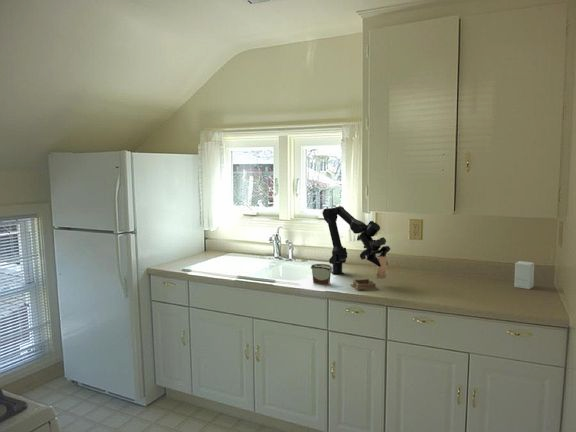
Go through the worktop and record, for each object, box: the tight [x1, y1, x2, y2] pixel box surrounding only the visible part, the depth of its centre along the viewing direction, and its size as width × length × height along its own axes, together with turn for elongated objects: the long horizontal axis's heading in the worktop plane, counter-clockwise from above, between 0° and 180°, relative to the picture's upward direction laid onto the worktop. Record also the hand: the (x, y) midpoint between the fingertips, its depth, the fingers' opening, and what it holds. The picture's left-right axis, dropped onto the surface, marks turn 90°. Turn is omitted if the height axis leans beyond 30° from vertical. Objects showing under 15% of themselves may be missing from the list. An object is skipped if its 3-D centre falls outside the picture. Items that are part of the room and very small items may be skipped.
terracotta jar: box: [376, 255, 388, 279], centre depth 230 cm, size 5×5×11 cm
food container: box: [310, 263, 333, 286], centre depth 237 cm, size 12×6×10 cm, turn 56°
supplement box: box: [513, 260, 535, 290], centre depth 225 cm, size 7×7×13 cm
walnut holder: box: [350, 278, 379, 292], centre depth 228 cm, size 11×11×3 cm
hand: (383, 265), depth 229 cm, fingers closed on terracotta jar, 5 cm apart
